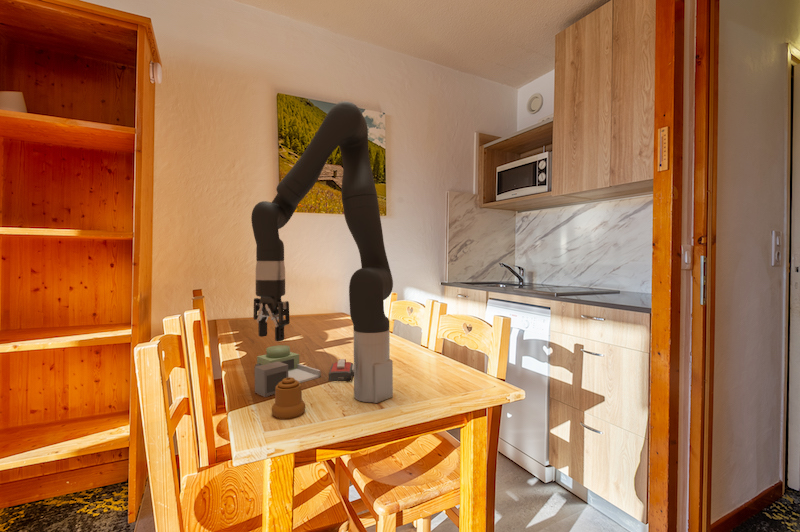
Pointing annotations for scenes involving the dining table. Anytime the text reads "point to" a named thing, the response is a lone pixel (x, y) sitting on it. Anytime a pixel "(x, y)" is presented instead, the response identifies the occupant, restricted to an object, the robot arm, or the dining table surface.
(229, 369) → the dining table surface
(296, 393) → the ornamental finial
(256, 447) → the dining table surface
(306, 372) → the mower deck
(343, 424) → the dining table surface
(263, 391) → the grey cube box
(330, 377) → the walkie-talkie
